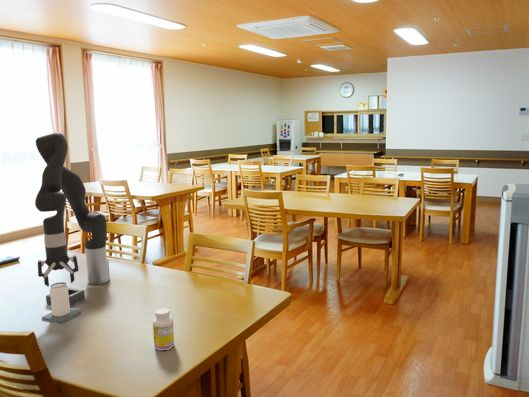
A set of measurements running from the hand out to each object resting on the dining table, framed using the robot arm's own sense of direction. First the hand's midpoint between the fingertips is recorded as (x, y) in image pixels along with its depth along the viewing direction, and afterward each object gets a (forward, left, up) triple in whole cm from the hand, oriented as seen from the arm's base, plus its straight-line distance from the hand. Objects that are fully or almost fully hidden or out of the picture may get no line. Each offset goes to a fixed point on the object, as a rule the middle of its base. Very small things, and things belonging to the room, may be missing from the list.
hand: (60, 284), depth 181 cm
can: (0, -1, -12) cm, 12 cm away
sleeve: (-12, -10, -13) cm, 21 cm away
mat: (0, 0, -13) cm, 13 cm away
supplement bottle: (+7, +53, -14) cm, 55 cm away
